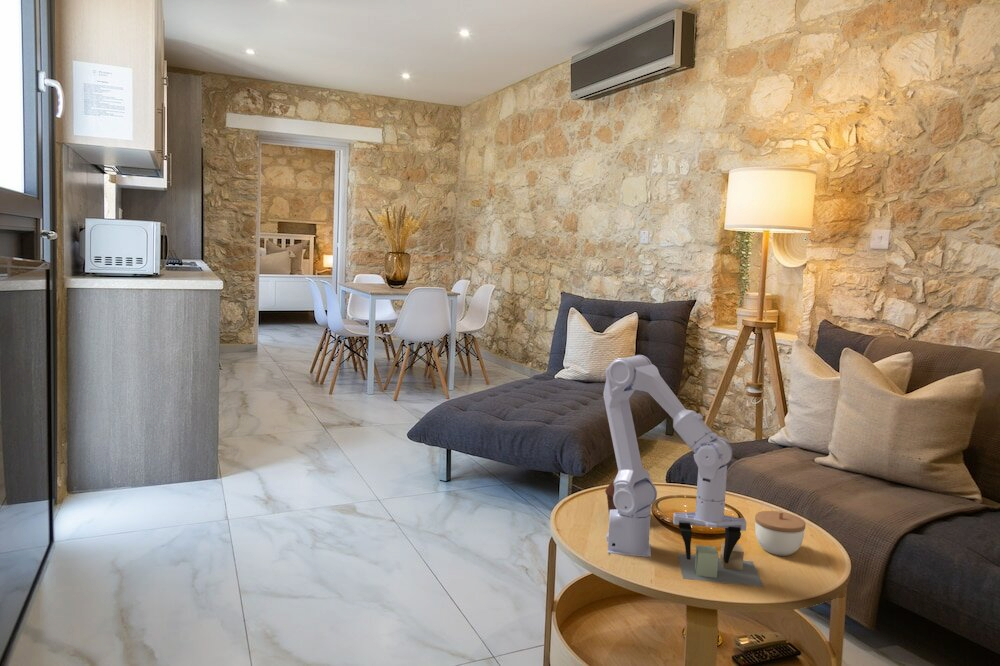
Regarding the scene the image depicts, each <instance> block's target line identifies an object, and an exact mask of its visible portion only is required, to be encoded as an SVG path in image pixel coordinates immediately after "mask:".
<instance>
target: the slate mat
mask: <svg viewBox="0 0 1000 666" xmlns="http://www.w3.org/2000/svg"><path fill="white" fill-rule="evenodd" d="M677 556H678V560H679V561H678V562H679V566H680V571H681V575H682V579H684V580H693V581H701V582H702V581H703V582H712V583H713V582H715V583H723V584H731V585H732V584H733V585H742V586H750V587H751V586H752V587H759V588H760V587H762V588H765V585H764V583H763V580H762V579H761V577H760V575H759V572H758V569H757V568H756V565H755V564H754V561H752V560H751V561H750V560H743V570H737V569H727V568H723V566H722V563H721V561H720V558H721V557H718V568H717V578H716V577H706V576H697V574H696V570H695V557H696V555H692V554H691V558H690V560H687V558H686V554H679V553H677Z"/></svg>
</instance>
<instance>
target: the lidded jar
mask: <svg viewBox="0 0 1000 666" xmlns="http://www.w3.org/2000/svg"><path fill="white" fill-rule="evenodd" d="M805 529H806V522H805V520H804V519H802V518H801V517H799V516H797V515H795V514H792V513H790V512H789V513H788V512H784V511H780V510H779V511H777V510H763V511H758V512H756V513H755V515H754V531H755V532H754V533H755V538H756V540H757V542H758V544H759V545H760V546H761V548H762V549H763V550H764V551H765V552H767V553H769V554H772V555H776V556H780V557H781V556H783V557H784V556H790V555H792V554H794V553H795V552H797V551H798V550H799V548H800V547H801V546H802V543H803V540H804V538H805Z"/></svg>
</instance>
